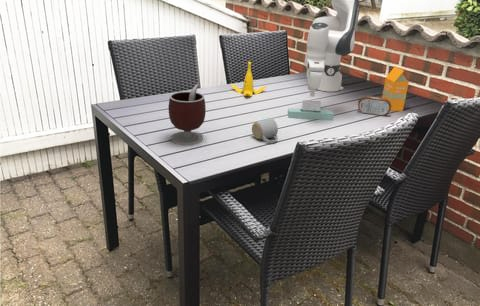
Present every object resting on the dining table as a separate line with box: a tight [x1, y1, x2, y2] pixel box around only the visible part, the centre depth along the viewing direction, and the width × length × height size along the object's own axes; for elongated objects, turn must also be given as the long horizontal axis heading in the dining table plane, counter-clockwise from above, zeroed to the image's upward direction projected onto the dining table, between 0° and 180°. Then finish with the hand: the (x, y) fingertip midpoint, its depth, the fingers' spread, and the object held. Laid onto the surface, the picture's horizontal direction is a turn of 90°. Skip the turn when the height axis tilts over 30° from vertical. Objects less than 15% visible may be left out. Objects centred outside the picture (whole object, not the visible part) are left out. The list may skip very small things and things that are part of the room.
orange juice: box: [381, 66, 410, 112], centre depth 206 cm, size 8×9×20 cm
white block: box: [301, 99, 322, 112], centre depth 191 cm, size 8×2×8 cm, turn 88°
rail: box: [287, 107, 334, 121], centre depth 192 cm, size 5×20×3 cm, turn 88°
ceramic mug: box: [251, 117, 279, 144], centre depth 165 cm, size 11×8×8 cm
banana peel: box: [230, 61, 267, 97], centre depth 220 cm, size 16×19×17 cm
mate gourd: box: [168, 83, 207, 146], centre depth 160 cm, size 16×14×20 cm
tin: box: [357, 95, 391, 117], centre depth 198 cm, size 15×3×8 cm, turn 71°
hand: (310, 92), depth 188 cm, fingers open, 8 cm apart
